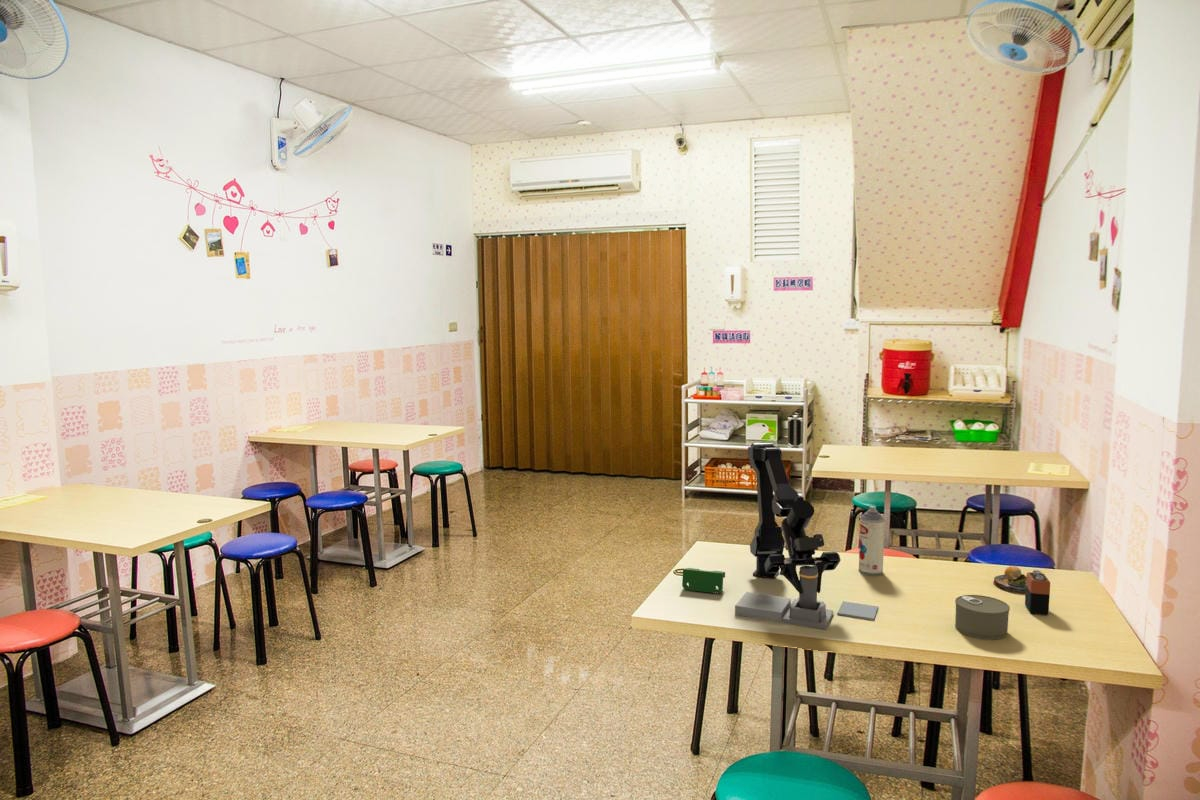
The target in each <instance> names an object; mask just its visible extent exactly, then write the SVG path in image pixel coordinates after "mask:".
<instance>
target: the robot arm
mask: <svg viewBox="0 0 1200 800" xmlns="http://www.w3.org/2000/svg"><path fill="white" fill-rule="evenodd" d="M746 452H747V453H746V454H747V458H748V459H749V464H750V466H751V468H752V469H753V470H754V472H755V475H756V476H755V479H756V492H757V506H758V507H757V509H758V523H757V525H756V527H755V529H754V530H753V531H754V536H753V538H752V540H751V541H750V545H749V551H750V553H751V554H752V555H753V556H754V558H755V557H756V563H755V564H756V566H755V567H756V569H755V571H754V572H753V573H752V576H756V577H763V578H771V579H775V578H776V577H777V575H778V574H779V575H780V576H783V577H784V578H785V579H786V580H787V581H788V582H789V583H790V584H791V585H792V586H793V587H794V589H795V590H796V591H797V592H798V595H799V594H802V588H801V584H800V581H799V580H800V577H799V574H798V573H797V567H801V566H813V567H816V568H817V569H818V577H817V594H820V593H821V591H822V590H821V589H822V588H821V587H822V577H823V576H822V575H823V573H824V572H825V571H826V572H827V571H834V570H835V569H836V568H837V567H838V565H839V564H840V563H841V556H840V554H839V553H838V552H837V551H823V552H822V553H821V555H820V556H815V557H813V556H814V555H815V553H816V551H819V548H823V547H824V546H825V539H824V537H823V534H821V533H815V534H813V535H812V537H811V536H809V535H807V533H806V528H807V527H808V526H809V524H810V522H811V519H812V518H813V516H814V515H815V506H813V505H812V503H810V502H809V501H807V500H805V499H804V496H800V495H799V492H798V491H797V490H796V489H794V488H793V487H792V486H791V484H790V481H789V478H788V475H787V471H786V468H785V464H784V462H783V459H782V457H783V456H782V450H781V447H780V446H776V445H774V443H773V442H753V443H751V444H750V446H748V447H747V451H746ZM776 517H778V518H784V519H783V520H782V521H781V523H780V525H781V526H779V524H778V523H777V521H776ZM784 548H785V551H787V554H788V557H785V555H784Z"/></svg>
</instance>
